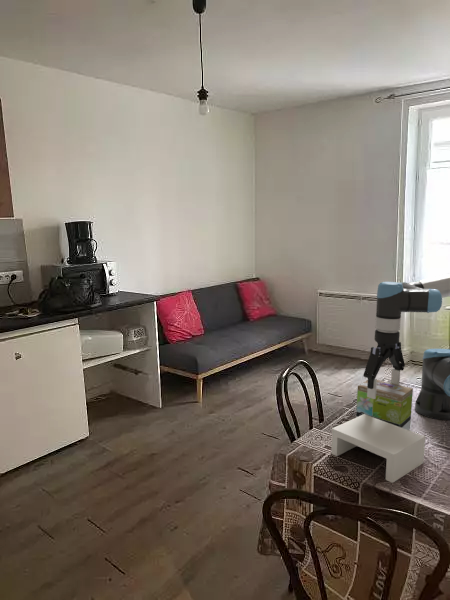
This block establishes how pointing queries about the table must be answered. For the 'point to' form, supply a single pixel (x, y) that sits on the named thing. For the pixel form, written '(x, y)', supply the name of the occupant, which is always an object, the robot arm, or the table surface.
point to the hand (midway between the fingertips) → (383, 393)
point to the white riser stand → (381, 443)
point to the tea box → (386, 403)
